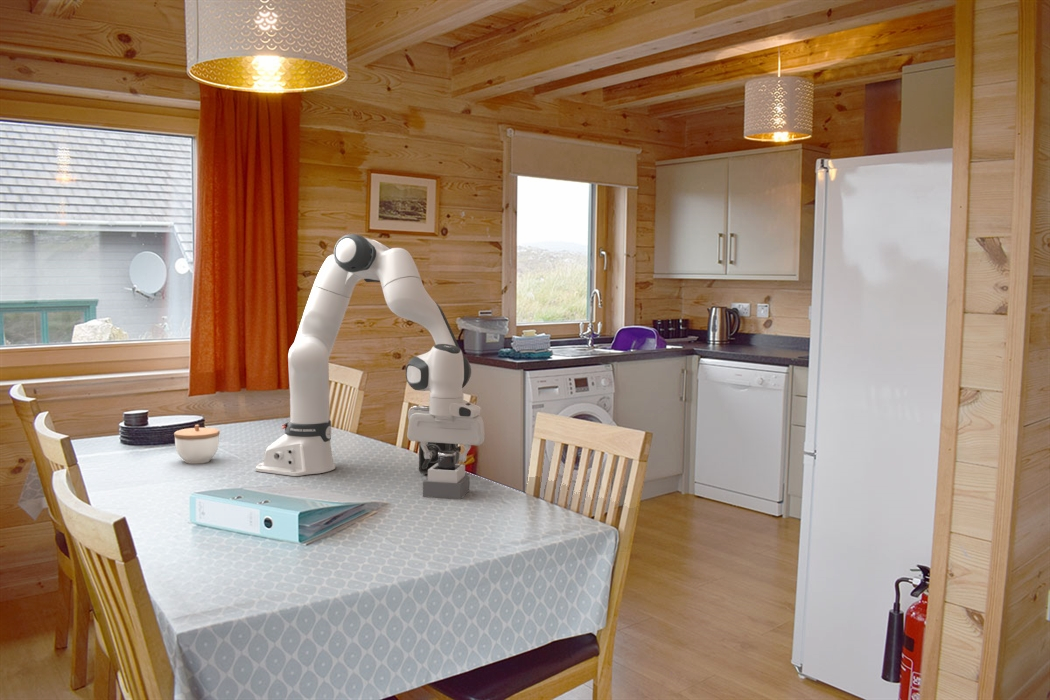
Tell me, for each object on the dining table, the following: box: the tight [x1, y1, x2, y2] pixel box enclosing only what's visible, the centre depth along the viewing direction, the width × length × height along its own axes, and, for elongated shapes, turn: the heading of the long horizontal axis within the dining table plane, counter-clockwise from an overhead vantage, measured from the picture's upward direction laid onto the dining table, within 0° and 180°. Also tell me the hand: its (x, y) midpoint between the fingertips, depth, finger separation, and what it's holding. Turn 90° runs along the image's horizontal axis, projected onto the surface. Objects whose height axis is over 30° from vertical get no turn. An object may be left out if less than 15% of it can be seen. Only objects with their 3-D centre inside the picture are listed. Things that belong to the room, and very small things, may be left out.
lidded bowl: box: [173, 424, 220, 465], centre depth 241 cm, size 13×13×11 cm
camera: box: [418, 441, 462, 476], centre depth 231 cm, size 10×10×15 cm
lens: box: [438, 450, 456, 470], centre depth 209 cm, size 5×5×7 cm
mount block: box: [422, 463, 470, 500], centre depth 209 cm, size 10×9×7 cm
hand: (445, 459), depth 209 cm, fingers open, 8 cm apart
